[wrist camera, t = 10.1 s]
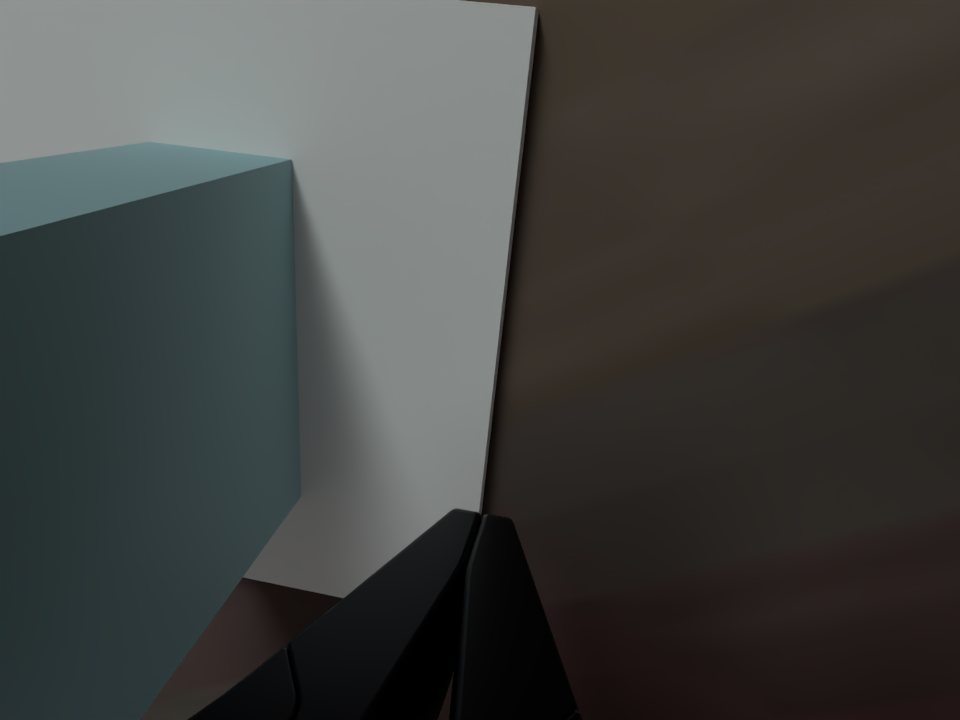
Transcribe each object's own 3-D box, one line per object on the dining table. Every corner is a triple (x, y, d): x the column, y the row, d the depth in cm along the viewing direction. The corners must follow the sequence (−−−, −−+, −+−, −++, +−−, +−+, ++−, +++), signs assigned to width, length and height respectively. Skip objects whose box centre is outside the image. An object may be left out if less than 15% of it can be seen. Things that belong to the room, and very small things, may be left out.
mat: (538, 10, 11) (535, 7, 11) (470, 606, 17) (466, 623, 17) (-276, -63, 13) (-313, -69, 13) (-89, 492, 19) (-110, 504, 19)
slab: (291, 159, 13) (-285, 311, 4) (301, 495, 16) (-17, 937, 8) (149, 141, 13) (-626, 251, 5) (188, 474, 16) (-229, 873, 8)
